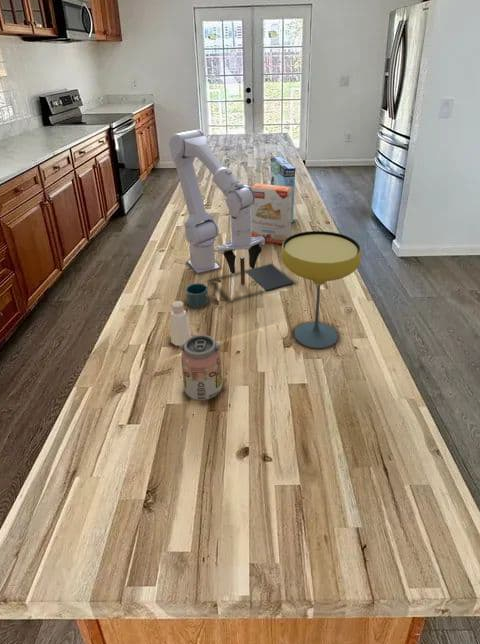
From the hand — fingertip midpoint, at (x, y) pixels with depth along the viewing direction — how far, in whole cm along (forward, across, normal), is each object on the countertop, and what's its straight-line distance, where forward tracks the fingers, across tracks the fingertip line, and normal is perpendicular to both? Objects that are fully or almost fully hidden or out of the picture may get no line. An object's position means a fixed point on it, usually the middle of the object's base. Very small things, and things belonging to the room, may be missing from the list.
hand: (242, 269), depth 132 cm
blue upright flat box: (+5, +41, +46) cm, 62 cm away
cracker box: (+5, +24, +25) cm, 35 cm away
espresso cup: (+5, -16, -3) cm, 17 cm away
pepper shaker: (+5, -26, -18) cm, 32 cm away
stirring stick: (+5, 0, 0) cm, 5 cm away
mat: (+5, +3, 0) cm, 6 cm away
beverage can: (+5, -27, -36) cm, 45 cm away
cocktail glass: (+5, +5, -32) cm, 33 cm away
